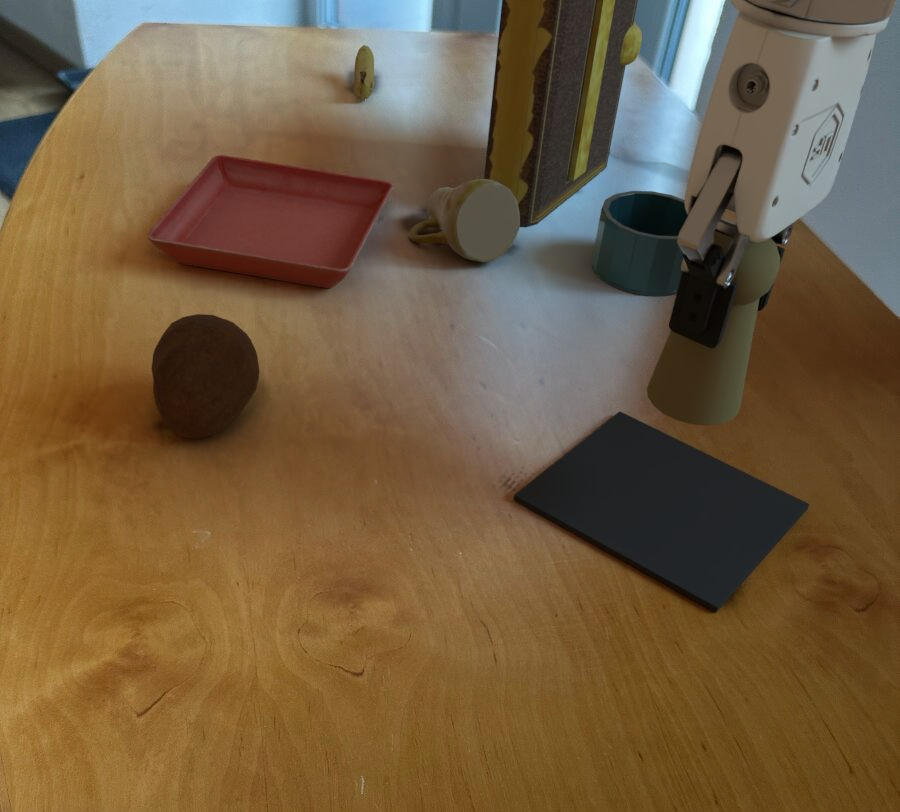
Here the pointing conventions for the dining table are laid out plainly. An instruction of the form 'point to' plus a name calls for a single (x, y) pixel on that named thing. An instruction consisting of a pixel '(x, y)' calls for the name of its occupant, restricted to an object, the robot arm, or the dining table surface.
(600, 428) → the mat
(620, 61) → the book
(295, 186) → the plant saucer
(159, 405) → the potato
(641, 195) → the crock
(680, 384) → the olive pawn piece
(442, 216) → the mug
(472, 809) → the dining table surface
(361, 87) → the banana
